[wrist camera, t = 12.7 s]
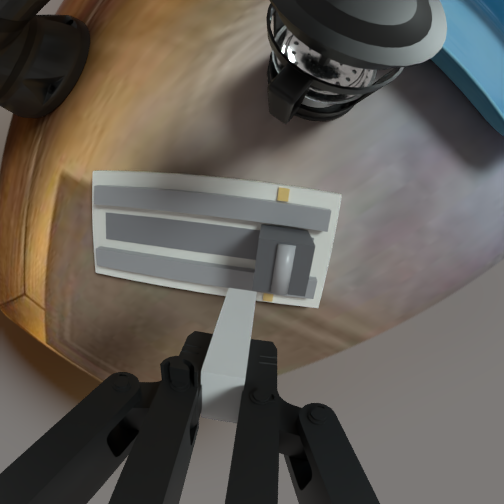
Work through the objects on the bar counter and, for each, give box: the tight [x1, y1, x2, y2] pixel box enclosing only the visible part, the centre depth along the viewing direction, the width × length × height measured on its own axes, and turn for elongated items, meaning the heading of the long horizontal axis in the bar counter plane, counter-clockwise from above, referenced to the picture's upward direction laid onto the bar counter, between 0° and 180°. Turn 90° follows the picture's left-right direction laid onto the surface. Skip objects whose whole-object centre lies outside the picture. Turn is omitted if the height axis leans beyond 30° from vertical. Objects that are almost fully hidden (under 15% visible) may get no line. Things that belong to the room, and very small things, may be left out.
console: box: [92, 170, 342, 308], centre depth 28 cm, size 26×12×2 cm, turn 83°
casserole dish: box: [430, 0, 504, 136], centre depth 15 cm, size 37×22×7 cm, turn 55°
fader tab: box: [252, 224, 315, 297], centre depth 24 cm, size 4×4×6 cm
